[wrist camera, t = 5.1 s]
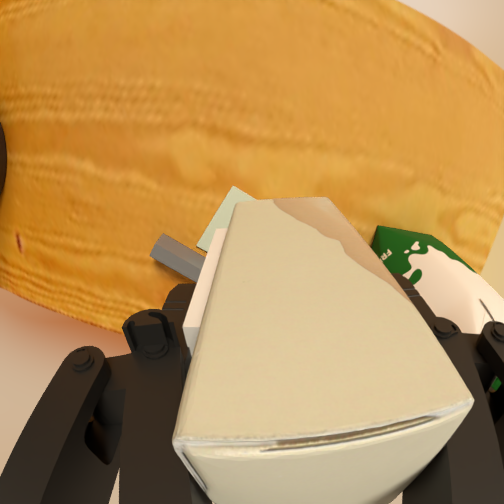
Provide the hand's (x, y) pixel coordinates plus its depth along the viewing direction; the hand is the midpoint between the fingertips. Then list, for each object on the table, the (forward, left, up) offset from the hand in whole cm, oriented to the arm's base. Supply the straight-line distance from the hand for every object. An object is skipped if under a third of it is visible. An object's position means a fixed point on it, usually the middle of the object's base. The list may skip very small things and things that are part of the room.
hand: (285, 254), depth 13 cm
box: (0, 0, -1) cm, 1 cm away
